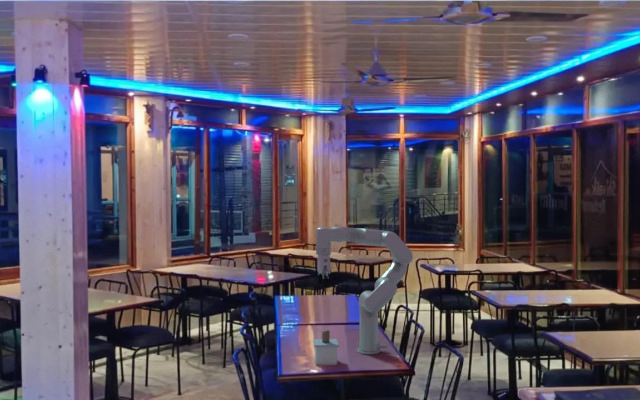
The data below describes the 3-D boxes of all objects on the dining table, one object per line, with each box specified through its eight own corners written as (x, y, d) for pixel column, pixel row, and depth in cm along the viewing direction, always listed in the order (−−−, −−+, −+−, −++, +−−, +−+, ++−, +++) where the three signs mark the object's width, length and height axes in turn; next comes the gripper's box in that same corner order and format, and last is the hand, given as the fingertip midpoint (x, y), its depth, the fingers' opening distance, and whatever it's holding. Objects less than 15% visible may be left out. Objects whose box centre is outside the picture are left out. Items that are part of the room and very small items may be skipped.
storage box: (334, 359, 303) (335, 341, 303) (336, 365, 293) (337, 346, 293) (314, 359, 303) (314, 341, 302) (316, 365, 293) (316, 346, 292)
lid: (336, 340, 304) (336, 327, 304) (338, 347, 292) (338, 333, 292) (313, 341, 303) (313, 328, 303) (314, 347, 292) (314, 333, 291)
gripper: (334, 253, 306) (334, 287, 306) (326, 249, 323) (326, 282, 323) (320, 253, 304) (319, 287, 305) (312, 249, 321) (312, 282, 321)
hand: (323, 284), depth 314 cm, fingers open, 9 cm apart
